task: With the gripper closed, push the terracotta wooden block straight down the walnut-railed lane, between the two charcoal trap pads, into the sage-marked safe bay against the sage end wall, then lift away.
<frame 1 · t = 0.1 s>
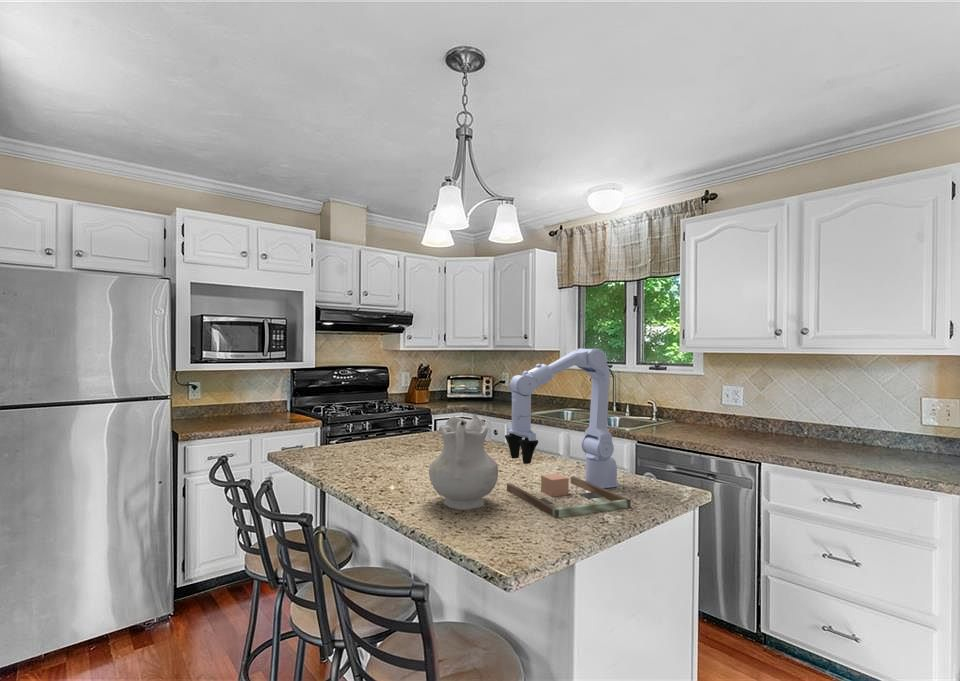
hand: (520, 460, 156), 10 cm above the worktop, fingers open, 7 cm apart
block: (554, 493, 158), on the worktop
ceramic pitcher: (463, 505, 145), on the worktop
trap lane: (565, 498, 153), on the worktop
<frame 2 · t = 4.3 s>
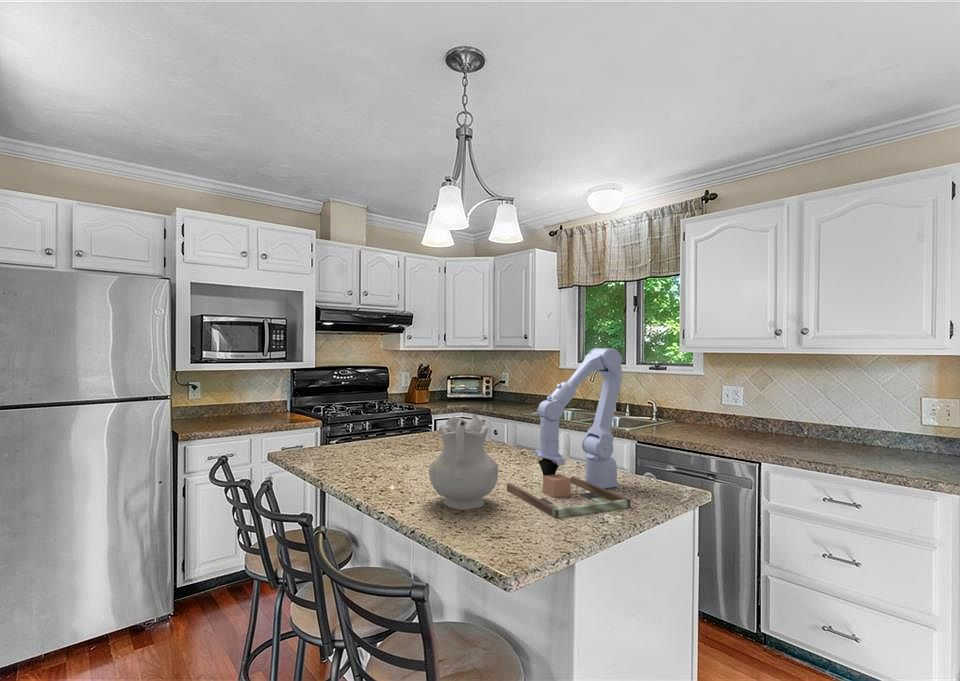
hand: (548, 483, 161), 2 cm above the worktop, fingers closed
block: (556, 493, 157), on the worktop, touching gripper
everything else where it was.
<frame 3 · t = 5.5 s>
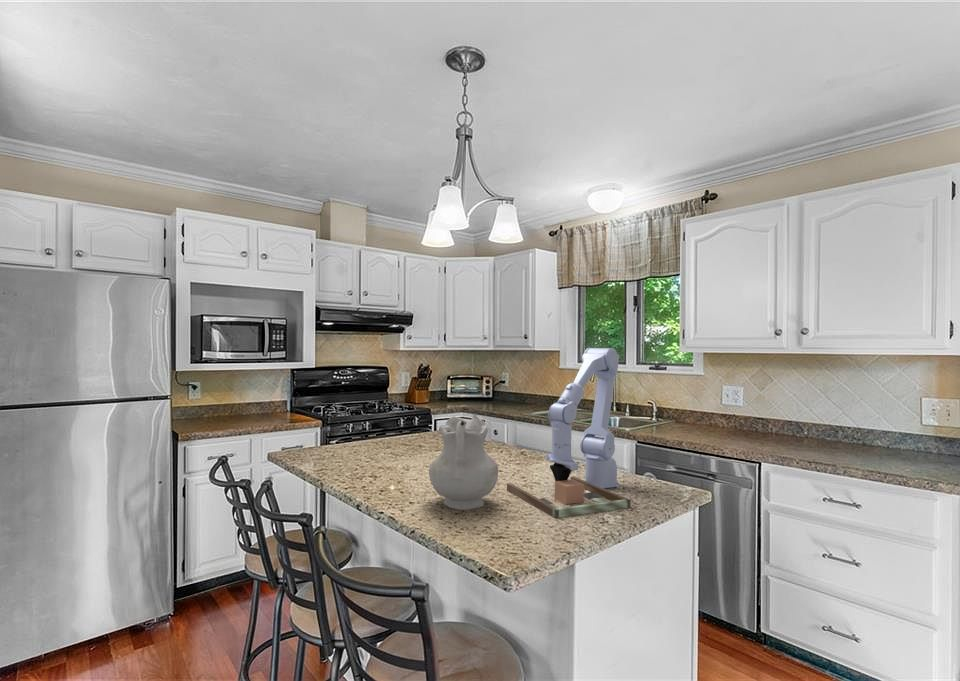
hand: (561, 489, 155), 2 cm above the worktop, fingers closed
block: (569, 500, 150), on the worktop, touching gripper
everything else where it was.
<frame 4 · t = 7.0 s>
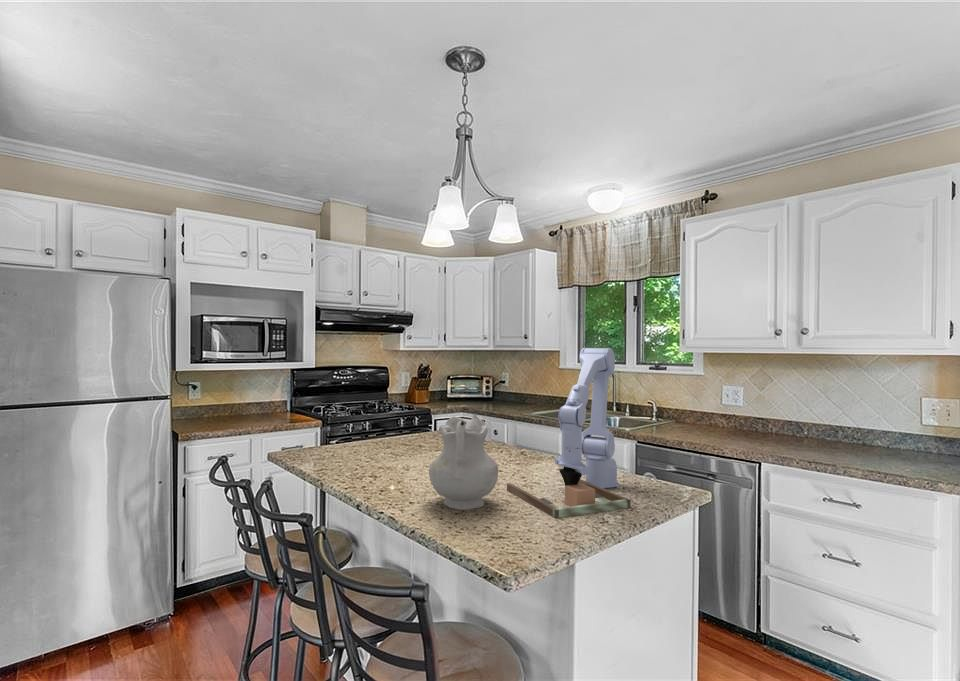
hand: (571, 494, 150), 2 cm above the worktop, fingers closed
block: (579, 505, 146), on the worktop, touching gripper
everything else where it was.
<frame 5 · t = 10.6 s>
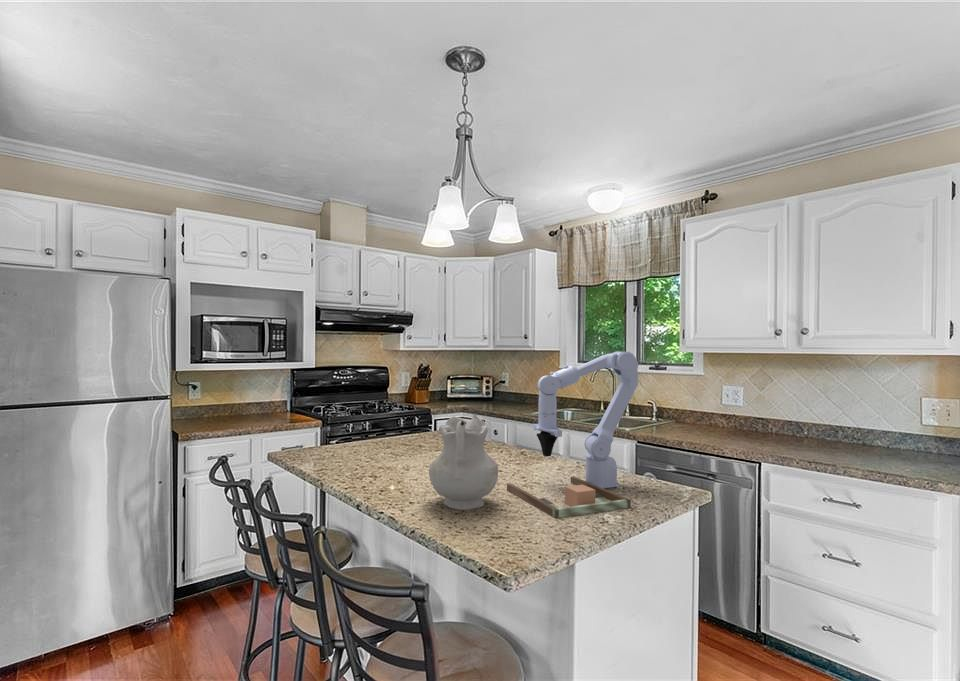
hand: (547, 455, 166), 9 cm above the worktop, fingers closed
block: (579, 506, 146), on the worktop
everything else where it was.
at the end: block inside the target area on the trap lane (0.8 cm from its centre), point 0.0 cm above the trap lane's base; block tilted 0°; block moved 13.5 cm from its start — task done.
